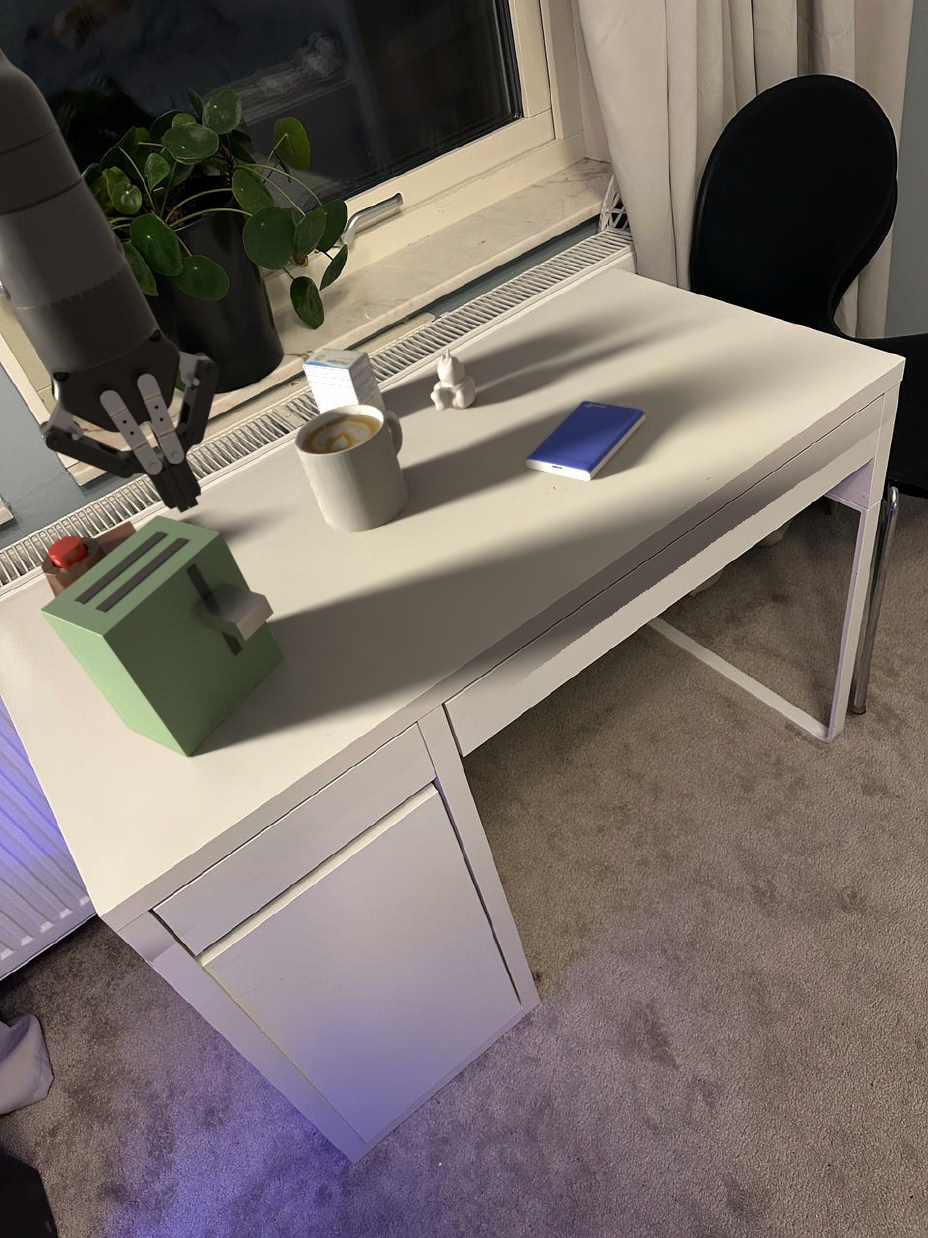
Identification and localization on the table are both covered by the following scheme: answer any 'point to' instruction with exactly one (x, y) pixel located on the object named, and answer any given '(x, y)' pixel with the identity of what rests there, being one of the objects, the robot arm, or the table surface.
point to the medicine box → (342, 379)
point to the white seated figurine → (452, 385)
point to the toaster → (162, 633)
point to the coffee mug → (354, 466)
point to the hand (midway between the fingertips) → (186, 504)
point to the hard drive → (586, 440)
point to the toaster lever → (234, 611)
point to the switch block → (86, 557)
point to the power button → (67, 551)
